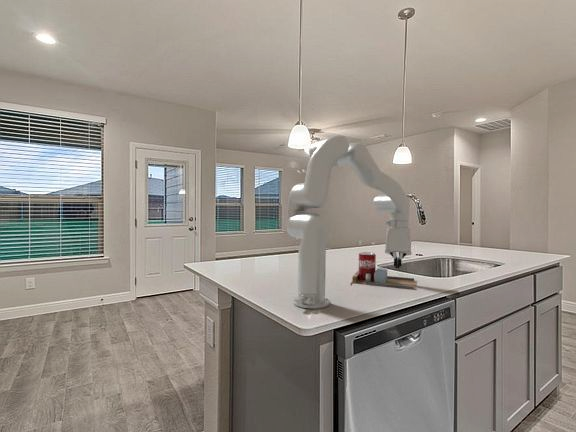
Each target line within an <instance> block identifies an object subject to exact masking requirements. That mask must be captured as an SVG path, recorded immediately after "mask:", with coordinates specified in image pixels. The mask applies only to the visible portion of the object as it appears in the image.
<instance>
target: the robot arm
mask: <svg viewBox="0 0 576 432" xmlns="http://www.w3.org/2000/svg"><path fill="white" fill-rule="evenodd" d="M308 154H309V161H308V162H307V165H306V170H305V171H306V173H305V176H304V177H305V178H304V182H300V183H297V184H295V185H294V186H292V188H291V190H290V192H289V193H288V194H289V195H288V199H287V200H288V201H287V208H286V218H285V219H286V220H285V227H286V230H287V233H288V235H290V236H291V237H293V238H295V239H301V241H300V244H299V248H298V253H297V254H298V255H297V258H298V259H297V260H298V263H297V266H298V268H297V278H298V280H297V296H295V297H294V298H293V304H294V305H295V306H297V307H298V308H302V309H312V310H313V309H314V310H316V309H323V308H326V307H329V305H330V304H331V301H330V299H329V298H327V296H326V273H327V272H326V271H327V270H326V264H327V263H326V262H327V259H326V257H327V256H326V254H327V241H328V236H329V232H330V224H329V221H328V220H327V218H326V216H324V215H322V214H320V213H317V212H310V210H319V209H323V208H324V207H325V206H326V205H327V203H328V200H329V199H328V198H329V191H330V190H329V189H330V182H331V180H330V179H331V175H332V170H333V168H334V167H338V168H339V167H341V168H342V167H351V169H352V170H353V172H354V173H355V175H356V176H357V178H358V180H359V181H360V182H361V184H363V185H364V186H366V187H369V188H371V189H375V190H377V191H380V192H381V193H383V194H379V195H377V196H376V197H374V198H373V202H372V206H373V209H375V211H377V212H380V213H390V214H389V221H386V225H387V226H388V227H387V231H386V235H385V236H386V238H385V250H384V253H385V254H387V255H390V256H391V257H392V258H393V266H394V267H395V269H400V268H401V267H402V260H403V258H405V257H406V256H412V255H413V252H412V230H411V228H409V227H410V226H409V224H410V204H411V203H410V202H411V201H410V197H409V196H408V195H407V194H406V192H405V190H404V189H403V187H402V185H401V184H400V183H399V182H397V180H395V179H394V178H392V177H391V176H389V175H388V174H386V173H385V172H383V171H382V170H381V169H380V168H379V166H378V164H377V162H376V161H375V159H374V158H373V156H372V154H371V153H370V151H369V149H368V148H367V146H366V145H365V144H364V143H362V142H359V141H356V142H350V141H349V139H348V137H346V136H344V135H341V134H340V135H338V134H337V135H333V136H329V137H327V138H322V139H319V140H317V141H314V142H312V143H311V145H310V146H309V148H308ZM397 253H399V256H397Z"/></svg>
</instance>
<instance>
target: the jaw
mask: <svg viewBox="0 0 576 432" xmlns="http://www.w3.org/2000/svg"><path fill="white" fill-rule="evenodd" d="M387 276H388V267H377V269H376V271H375V273H374V282H375V283H382V284H385V283H386V281H387Z"/></svg>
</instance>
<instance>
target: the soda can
mask: <svg viewBox="0 0 576 432" xmlns="http://www.w3.org/2000/svg"><path fill="white" fill-rule="evenodd" d="M376 256H377V255H376V253H374V252H369V251H368V252H367V251H365V252H364V251H363V252H359V253H358V271H359V272H358V279H359V280H360V281H363V282H366V274H371V282H374V273H375V271H376V270H377V269H376V267H377V266H376V265H377V264H376V263H377V262H376V260H377V259H376V258H377V257H376Z"/></svg>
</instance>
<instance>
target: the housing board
mask: <svg viewBox="0 0 576 432" xmlns="http://www.w3.org/2000/svg"><path fill="white" fill-rule="evenodd" d="M358 272H359V270H357V271H356V272H355V273H354V274H353V276H352V278H351V279H352V281H351V282H350V286H352V285H362V286H371V287H372V286H373V287H382V288H383V287H384V288H393V289H402V290H403V289H404V290H411V291H417V288H418V287H417V280H415V278H413V277H404V276H403V277H400V276H391V275H387V281H386V283H385V284H382V283H375V282H371V274H366V282H363V281H360V280H359V279H358Z"/></svg>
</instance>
